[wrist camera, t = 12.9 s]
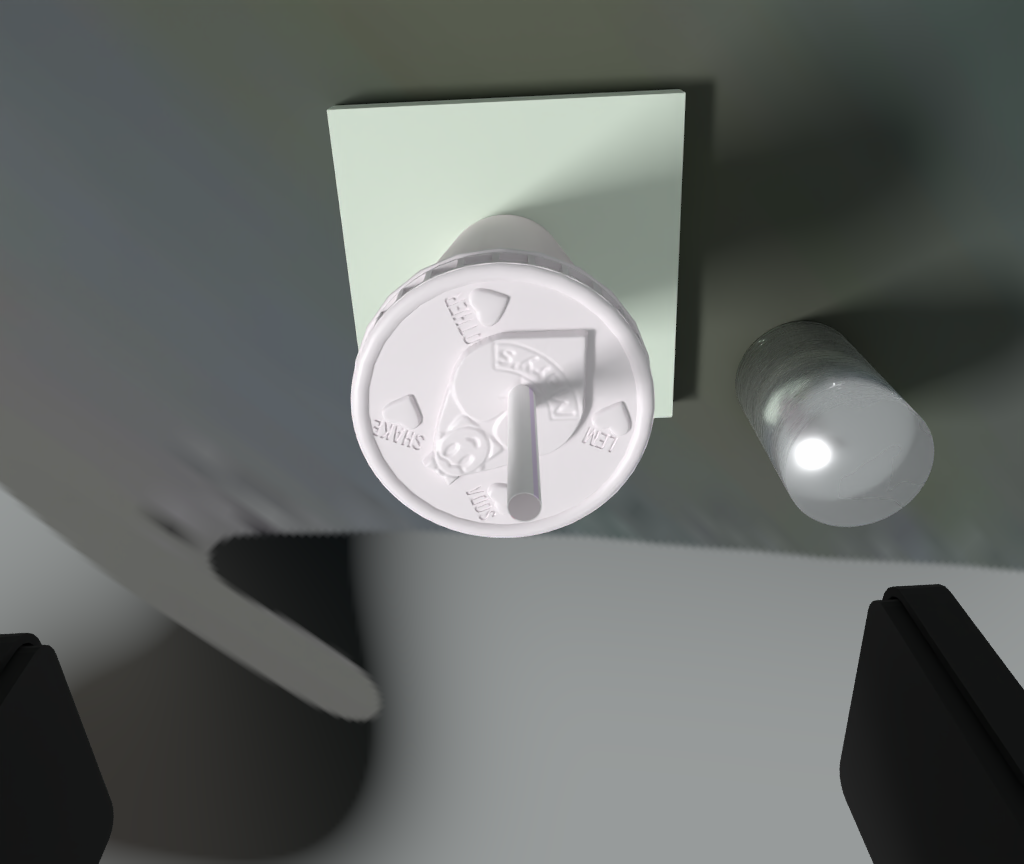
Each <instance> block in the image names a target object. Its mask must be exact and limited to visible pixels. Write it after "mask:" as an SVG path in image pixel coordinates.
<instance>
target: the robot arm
mask: <svg viewBox="0 0 1024 864" xmlns="http://www.w3.org/2000/svg"><path fill="white" fill-rule="evenodd" d="M840 780H841V786H842V790H843V794H844V796H845V799H846V801H847V804H848V806H849V808H850V810H851V813H852V815H853V818H854V820H855V822H856V824H857V827H858V829H859V831H860V834H861V836H862V838H863V840H864V843H865V845H866V847H867V850H868V852H869V854H870V857H871V859H872V861H873V863H874V864H1024V689H1023V688H1022V687H1021V685H1020V684H1019V683H1018V681H1017V680H1016V679H1015V677H1014V676H1013V675H1012V673H1011V672H1010V671H1009V670H1008V668H1007V667H1006V665H1005V664H1004V663H1003V661H1002V660H1001V659H1000V657H999V656H998V655H997V654H996V652H995V651H994V649H993V648H992V647H991V645H990V644H989V643H988V641H987V640H986V639H985V637H984V636H983V635H982V633H981V632H980V631H979V629H978V628H977V627H976V626H975V624H974V623H973V621H972V620H971V619H970V617H969V616H968V615H967V613H966V612H965V611H964V609H963V608H962V607H961V605H960V604H959V603H958V601H957V600H956V599H955V597H954V596H953V595H952V593H951V592H950V591H949V590H948V589H947V588H946V587H945V586H943V585H940V584H934V585H915V586H896V587H890V588H888V589H887V591H886V592H885V593H884V596H883V599H882V600H876V601H873V602H872V603H871V604H870V606H869V609H868V614H867V619H866V625H865V630H864V636H863V641H862V646H861V652H860V657H859V663H858V668H857V674H856V679H855V685H854V690H853V696H852V701H851V706H850V711H849V717H848V722H847V728H846V734H845V739H844V744H843V750H842V755H841V760H840ZM112 825H113V806H112V802H111V799H110V796H109V794H108V791H107V788H106V786H105V783H104V781H103V778H102V775H101V772H100V770H99V767H98V764H97V762H96V759H95V756H94V754H93V751H92V748H91V746H90V743H89V741H88V738H87V735H86V733H85V730H84V727H83V724H82V722H81V719H80V717H79V714H78V711H77V708H76V706H75V703H74V701H73V698H72V695H71V692H70V690H69V687H68V685H67V682H66V680H65V676H64V674H63V671H62V668H61V666H60V663H59V661H58V658H57V655H56V653H55V651H54V649H53V648H52V647H50V646H49V645H42V644H41V643H40V641H39V639H38V638H37V637H36V636H35V635H34V634H30V633H17V634H0V864H99V861H100V859H101V857H102V854H103V852H104V850H105V847H106V845H107V842H108V840H109V838H110V834H111V831H112Z"/></svg>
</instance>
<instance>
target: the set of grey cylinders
mask: <svg viewBox="0 0 1024 864" xmlns="http://www.w3.org/2000/svg"><path fill="white" fill-rule="evenodd" d="M735 388H736V395H737V398H738V401H739V403H740V405H741V407H742V409H743V411H744V413H745V415H746V416H747V418H748V420H749V422H750V424H751V426H752V427H753V429H754V431H755V433H756V435H757V436H758V438H759V440H760V442H761V444H762V446H763V447H764V449H765V451H766V453H767V455H768V456H769V458H770V460H771V462H772V464H773V466H774V467H775V469H776V471H777V473H778V475H779V476H780V478H781V480H782V482H783V484H784V486H785V487H786V489H787V491H788V493H789V495H790V496H791V498H792V500H793V501H794V503H795V504H796V506H797V507H798V508H799V509H800V510H801V511H802V512H804V513H805V514H806V515H807V516H809V517H811V518H812V519H814V520H816V521H819V522H821V523H824V524H828V525H832V526H839V527H853V526H861V525H867V524H870V523H874V522H877V521H880V520H882V519H884V518H887V517H889V516H890V515H892V514H894V513H896V512H897V511H899V510H900V509H902V508H903V507H904V506H905V505H907V504H908V503H909V502H910V501H911V500H912V499H913V498H914V497H915V496H916V495H917V494H918V492H919V491H920V490H921V488H922V487H923V485H924V484H925V482H926V480H927V479H928V476H929V474H930V471H931V468H932V464H933V459H934V444H933V438H932V435H931V433H930V430H929V428H928V426H927V425H926V423H925V422H924V421H923V419H922V418H921V417H920V416H919V415H918V414H917V413H916V412H915V411H914V410H913V409H912V407H911V406H910V405H909V404H908V403H907V402H906V401H905V400H904V399H903V398H902V397H901V396H900V395H899V394H898V393H897V392H896V391H895V390H894V389H893V388H892V387H891V385H890V384H889V383H888V382H887V381H886V380H885V379H884V378H883V377H882V376H881V375H880V374H879V373H878V372H877V371H876V370H875V369H874V368H873V367H872V366H871V365H870V363H869V362H868V361H867V360H866V359H865V358H864V357H863V356H862V355H861V354H860V353H859V352H858V351H857V350H856V349H855V348H854V347H853V346H852V345H851V344H850V343H849V341H848V340H847V339H846V338H845V337H844V336H843V335H841V334H840V333H839V332H838V331H836V330H835V329H833V328H832V327H829V326H827V325H825V324H821V323H818V322H811V321H798V322H791V323H787V324H784V325H781V326H778V327H776V328H774V329H772V330H770V331H768V332H767V333H765V334H763V335H762V336H761V337H760V338H758V339H757V340H756V341H755V342H754V343H753V344H752V345H751V346H750V347H749V349H748V350H747V351H746V353H745V354H744V356H743V358H742V360H741V362H740V364H739V367H738V370H737V374H736V384H735Z"/></svg>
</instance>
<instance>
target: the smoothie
mask: <svg viewBox="0 0 1024 864" xmlns="http://www.w3.org/2000/svg"><path fill="white" fill-rule="evenodd" d="M654 410H655V392H654V383H653V377H652V373H651V368H650V360H649V355H648V352H647V350H646V347H645V344H644V342H643V339H642V337H641V334H640V332H639V329H638V327H637V324H636V322H635V320H634V319H633V318H632V317H631V315H630V314H629V313H628V311H627V310H626V309H625V307H624V306H623V305H622V304H621V302H620V301H619V300H618V298H617V297H616V296H615V295H614V293H613V292H612V291H611V290H610V289H608V288H607V287H606V286H604V285H603V284H602V283H600V282H599V281H598V280H596V279H595V278H593V277H592V276H591V275H589V274H588V273H587V272H585V271H584V270H583V269H581V268H580V267H578V266H575V265H574V264H573V262H572V261H571V260H570V258H569V257H568V256H567V254H566V253H565V252H564V251H563V249H562V248H561V247H560V245H559V244H558V243H557V241H556V240H555V239H554V238H553V236H552V235H551V234H550V233H549V232H548V231H547V230H546V229H545V228H543V227H542V226H541V225H539V224H537V223H536V222H534V221H532V220H530V219H527V218H524V217H521V216H516V215H495V216H490V217H487V218H484V219H481V220H479V221H477V222H475V223H474V224H472V225H470V226H469V227H468V228H466V229H465V230H464V231H463V232H462V233H461V234H460V235H459V236H458V238H457V239H456V240H455V241H454V242H453V244H452V245H451V246H450V247H449V248H448V249H447V251H446V252H445V253H444V254H443V255H442V257H441V258H440V259H439V260H438V261H437V263H435V264H433V265H431V266H428V267H426V268H424V269H421V270H420V271H418V272H417V273H416V274H415V275H413V276H412V277H411V278H410V279H408V280H407V281H406V282H405V283H404V284H402V285H401V286H400V287H399V288H397V289H396V290H395V291H394V292H392V293H391V294H390V295H389V296H388V297H387V299H386V300H385V302H384V303H383V305H382V306H381V307H380V309H379V310H378V312H377V313H376V314H375V316H374V317H373V319H372V320H371V322H370V323H369V324H368V326H367V328H366V331H365V334H364V337H363V340H362V343H361V346H360V349H359V352H358V355H357V358H356V361H355V370H354V374H353V380H352V387H351V412H352V419H353V425H354V429H355V433H356V436H357V440H358V442H359V445H360V447H361V450H362V452H363V454H364V456H365V458H366V460H367V462H368V464H369V466H370V467H371V469H372V470H373V472H374V473H375V475H376V476H377V477H378V479H379V480H380V481H381V482H382V484H383V485H384V486H385V487H386V488H387V489H388V490H389V491H390V492H391V493H392V494H393V495H394V496H395V497H396V498H397V499H398V500H399V501H401V502H402V503H403V504H404V505H406V506H407V507H408V508H410V509H411V510H413V511H414V512H416V513H417V514H419V515H421V516H422V517H424V518H426V519H428V520H430V521H432V522H434V523H436V524H438V525H441V526H443V527H446V528H449V529H451V530H455V531H458V532H462V533H466V534H471V535H476V536H483V537H493V538H512V537H524V536H531V535H536V534H541V533H545V532H549V531H552V530H555V529H558V528H561V527H564V526H566V525H568V524H571V523H573V522H575V521H577V520H579V519H581V518H583V517H585V516H586V515H588V514H589V513H591V512H593V511H594V510H596V509H597V508H598V507H600V506H601V505H602V504H604V503H605V502H606V501H607V500H608V499H610V498H611V497H612V496H613V495H614V494H615V493H616V492H617V491H618V490H619V489H620V488H621V486H622V485H623V484H624V483H625V482H626V481H627V479H628V478H629V477H630V475H631V474H632V472H633V471H634V469H635V468H636V466H637V464H638V463H639V461H640V459H641V457H642V455H643V453H644V450H645V448H646V446H647V443H648V440H649V437H650V433H651V429H652V424H653V418H654Z"/></svg>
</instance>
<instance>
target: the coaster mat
mask: <svg viewBox="0 0 1024 864" xmlns="http://www.w3.org/2000/svg"><path fill="white" fill-rule="evenodd" d="M685 96H686V93H685V92H683V91H682V90H680V89H671V90H650V91H629V92H608V93H587V94H566V95H545V96H524V97H503V98H483V99H462V100H441V101H420V102H399V103H378V104H357V105H336V106H332V107H330V108H329V109H327V115H328V123H329V130H330V138H331V145H332V153H333V160H334V168H335V175H336V183H337V191H338V198H339V206H340V213H341V221H342V228H343V236H344V243H345V251H346V259H347V266H348V274H349V281H350V289H351V296H352V304H353V312H354V319H355V327H356V334H357V342H358V349H360V346H361V343H362V340H363V337H364V334H365V331H366V328H367V326H368V324H369V323H370V322H371V320H372V319H373V317H374V316H375V314H376V313H377V312H378V310H379V309H380V307H381V306H382V305H383V303H384V302H385V300H386V299H387V297H388V296H389V295H390V294H391V293H392V292H394V291H395V290H396V289H397V288H399V287H400V286H401V285H402V284H404V283H405V282H406V281H407V280H408V279H410V278H411V277H412V276H413V275H415V274H416V273H417V272H418V271H420V270H421V269H424V268H426V267H428V266H431V265H433V264H435V263H437V261H438V260H439V259H440V258H441V257H442V255H443V254H444V253H445V252H446V251H447V249H448V248H449V247H450V246H451V245H452V244H453V242H454V241H455V240H456V239H457V238H458V236H459V235H460V234H461V233H462V232H463V231H464V230H465V229H466V228H468V227H469V226H470V225H472V224H474V223H475V222H477V221H479V220H481V219H484V218H487V217H490V216H495V215H516V216H521V217H524V218H527V219H530V220H532V221H534V222H536V223H537V224H539V225H541V226H542V227H543V228H545V229H546V230H547V231H548V232H549V233H550V234H551V235H552V236H553V238H554V239H555V240H556V241H557V243H558V244H559V245H560V247H561V248H562V249H563V251H564V252H565V253H566V254H567V256H568V257H569V258H570V260H571V261H572V262H573V264H574V265H575V266H578V267H580V268H581V269H583V270H584V271H585V272H587V273H588V274H589V275H591V276H592V277H593V278H595V279H596V280H598V281H599V282H600V283H602V284H603V285H604V286H606V287H607V288H608V289H610V290H611V291H612V292H613V293H614V295H615V296H616V297H617V298H618V300H619V301H620V302H621V304H622V305H623V306H624V307H625V309H626V310H627V311H628V313H629V314H630V315H631V317H632V318H633V319H634V320H635V322H636V324H637V327H638V329H639V332H640V334H641V337H642V339H643V342H644V344H645V347H646V350H647V352H648V355H649V360H650V368H651V373H652V377H653V383H654V392H655V410H654V418H660V417H672V408H673V384H674V360H675V336H676V312H677V288H678V264H679V240H680V216H681V192H682V168H683V144H684V120H685Z"/></svg>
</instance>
